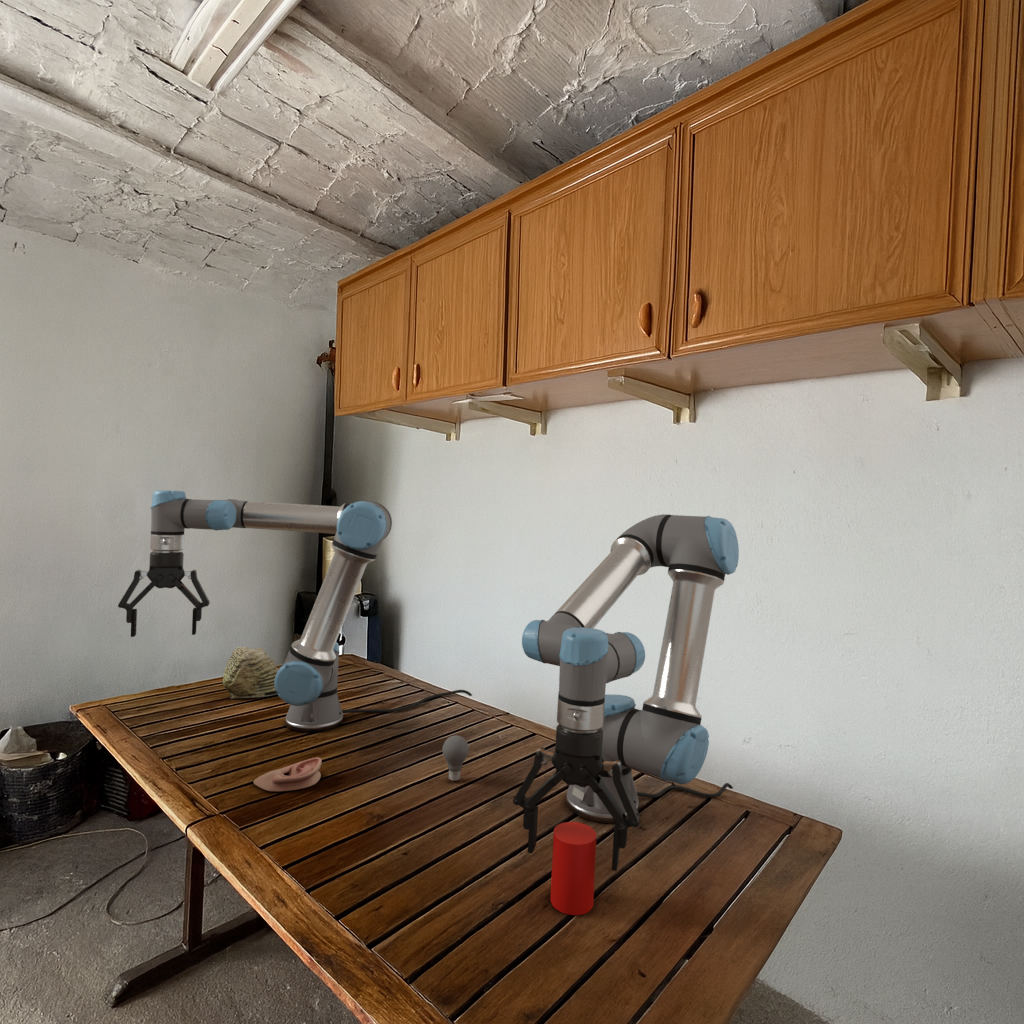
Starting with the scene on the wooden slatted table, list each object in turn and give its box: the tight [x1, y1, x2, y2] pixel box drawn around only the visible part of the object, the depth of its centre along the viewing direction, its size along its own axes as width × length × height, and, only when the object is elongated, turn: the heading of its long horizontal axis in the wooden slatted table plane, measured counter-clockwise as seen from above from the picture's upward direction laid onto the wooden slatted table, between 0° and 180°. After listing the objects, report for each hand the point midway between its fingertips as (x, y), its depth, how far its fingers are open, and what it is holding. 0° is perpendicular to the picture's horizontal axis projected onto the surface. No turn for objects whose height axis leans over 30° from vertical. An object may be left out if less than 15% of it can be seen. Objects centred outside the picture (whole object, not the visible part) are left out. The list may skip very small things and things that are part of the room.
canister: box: [549, 821, 598, 916], centre depth 102 cm, size 7×7×11 cm
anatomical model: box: [253, 757, 323, 792], centre depth 140 cm, size 13×4×12 cm
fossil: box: [222, 646, 279, 699], centre depth 198 cm, size 9×18×15 cm, turn 132°
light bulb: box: [442, 734, 470, 782], centre depth 144 cm, size 6×6×10 cm
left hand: (164, 634), depth 161 cm, fingers open, 13 cm apart
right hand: (572, 857), depth 102 cm, fingers open, 13 cm apart
